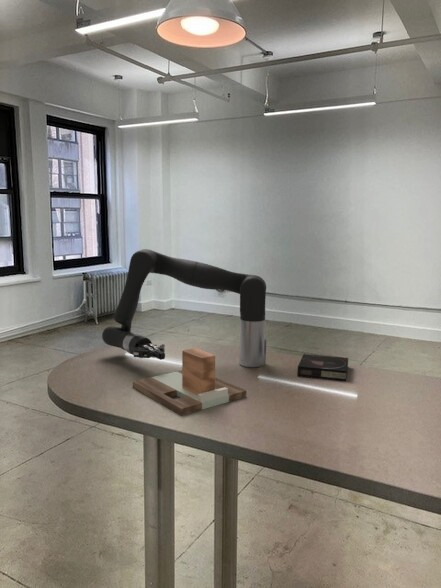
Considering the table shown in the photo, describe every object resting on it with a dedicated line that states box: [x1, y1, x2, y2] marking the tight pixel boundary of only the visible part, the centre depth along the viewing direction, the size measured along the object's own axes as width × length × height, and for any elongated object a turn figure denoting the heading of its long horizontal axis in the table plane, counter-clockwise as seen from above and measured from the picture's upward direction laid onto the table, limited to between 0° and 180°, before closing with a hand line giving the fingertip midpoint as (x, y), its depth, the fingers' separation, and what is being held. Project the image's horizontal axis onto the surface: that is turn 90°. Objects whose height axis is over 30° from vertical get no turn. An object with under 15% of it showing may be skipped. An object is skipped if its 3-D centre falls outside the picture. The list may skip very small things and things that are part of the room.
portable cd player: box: [296, 353, 349, 382], centre depth 176 cm, size 16×17×4 cm
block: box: [181, 347, 216, 396], centre depth 149 cm, size 5×10×12 cm, turn 39°
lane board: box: [132, 369, 247, 416], centre depth 154 cm, size 24×28×4 cm
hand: (162, 356), depth 164 cm, fingers closed
